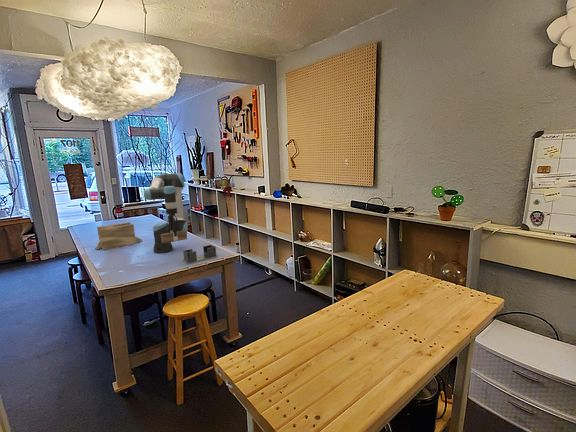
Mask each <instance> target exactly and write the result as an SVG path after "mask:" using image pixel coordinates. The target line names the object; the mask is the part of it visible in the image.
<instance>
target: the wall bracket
mask: <svg viewBox="0 0 576 432" xmlns="http://www.w3.org/2000/svg"><path fill="white" fill-rule="evenodd" d="M107 225H108V227H107V228H111V227H112V226H110V225H111V224H107ZM135 240H136V244H137V243H140V242H142V241H143V240H142V238H140V237H138V236H136V235H135ZM100 249H102V243H101V239H100V240H99V239H98V242H97V243H96V245H95V247H94V250H97V251H99V250H100Z"/></svg>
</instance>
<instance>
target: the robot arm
mask: <svg viewBox="0 0 576 432" xmlns="http://www.w3.org/2000/svg"><path fill="white" fill-rule="evenodd" d="M185 187H186V183H185V180H184V176H183V174H182V173H176V172H175V173H161V174H159V175H156V176H155V177H154V178H153V179H152V180H151V185H150V187H149V188H147V189H143V197H144V200H147V201H148V200H149V201H152V200H163V199H164V206H165V213H166V215H168V216H167V221H162V222H158V223H156V224H154V225H153V226H152V229H153V230H152V231H153V237H154V245H153V253H154V254H166V253H168V252H171V251H173V250H174V247H173V244H172V242H169V243H164V244H163V243H162V242H161V234H166V233H172V232H173V239H174V242H178V241H177V240H178V238H177V231H183V230H185V231H186V233H187V234H188V230H189V229H188V225H189V224H188V222H187V221H186V219H185V218H184V207H183V194H182V193H183V192H182V191H184V188H185Z"/></svg>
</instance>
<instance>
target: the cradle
mask: <svg viewBox="0 0 576 432" xmlns="http://www.w3.org/2000/svg"><path fill="white" fill-rule="evenodd" d="M108 225H110V226H112V227H111V228H107V227H108ZM134 226H135V225H134V224H133V223H132V224H131V222H130V221H127V222H120V223H116V224H107V225H102V226H96V228H97V229H96V230H97V234H98V235H97V236H98V241H99V240H100V239H101V243H102V248H101V249H102V250H103V251H106V250H111V249H117V248H122V247H123V248H124V247H127V246H133V245H137V242H136V240H135V236H136V233H135V227H134Z"/></svg>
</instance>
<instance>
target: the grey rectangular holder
mask: <svg viewBox="0 0 576 432" xmlns="http://www.w3.org/2000/svg"><path fill="white" fill-rule="evenodd" d="M202 250H203V254H201V255H197V251H196V250H194V251H193V248H190V249H186V250H183V258H184V259H182V260H183V262H184V263H185V264H187V265H191V264H196V263H200V262H203V261H207V260H211V259H215V258H218V255H217V249H216V245H215V246H214V245H213V244H208V245H204V246H202Z"/></svg>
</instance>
